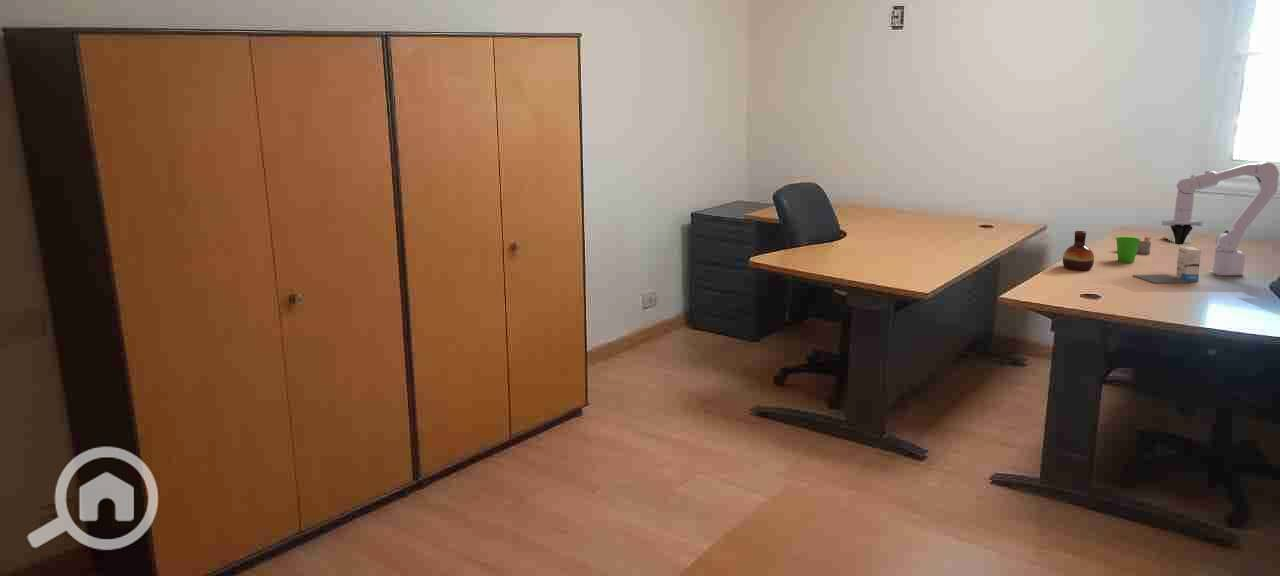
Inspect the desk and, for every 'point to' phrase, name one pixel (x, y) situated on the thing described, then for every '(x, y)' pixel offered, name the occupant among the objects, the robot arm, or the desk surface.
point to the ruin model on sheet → (1144, 246)
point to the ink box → (1188, 263)
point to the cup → (1127, 248)
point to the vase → (1078, 254)
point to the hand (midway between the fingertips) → (1179, 244)
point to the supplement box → (1171, 237)
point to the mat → (1160, 279)
